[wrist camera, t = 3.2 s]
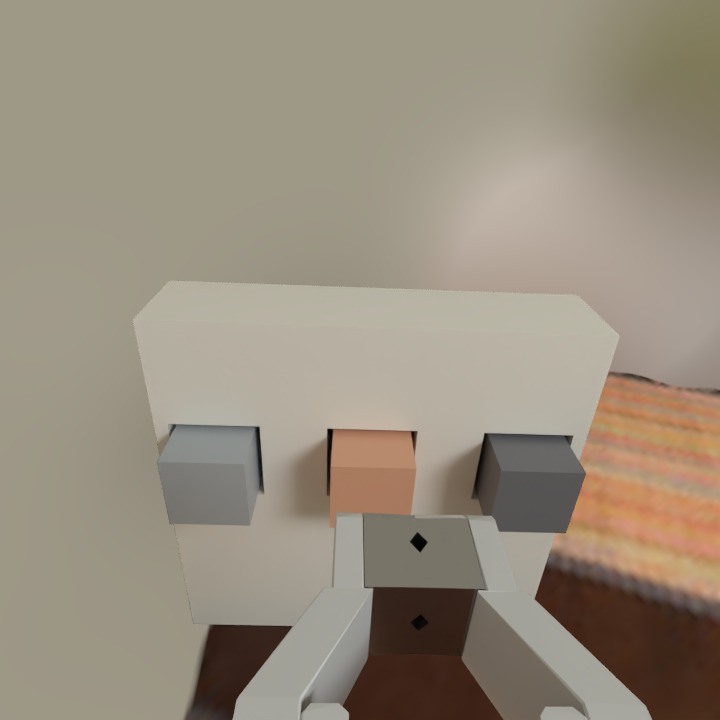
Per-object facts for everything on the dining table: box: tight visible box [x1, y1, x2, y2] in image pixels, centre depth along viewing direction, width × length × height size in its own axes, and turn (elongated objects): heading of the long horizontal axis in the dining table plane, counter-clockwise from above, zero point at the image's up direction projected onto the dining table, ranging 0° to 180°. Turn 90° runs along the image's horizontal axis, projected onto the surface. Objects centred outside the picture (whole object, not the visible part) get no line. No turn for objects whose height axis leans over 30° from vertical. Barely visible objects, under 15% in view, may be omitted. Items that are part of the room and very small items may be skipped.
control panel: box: [133, 281, 620, 626], centre depth 30 cm, size 5×22×22 cm, turn 90°
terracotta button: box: [330, 429, 416, 528], centre depth 26 cm, size 4×4×4 cm
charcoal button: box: [474, 433, 586, 533], centre depth 26 cm, size 4×4×4 cm
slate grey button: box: [157, 424, 263, 526], centre depth 26 cm, size 4×4×4 cm
